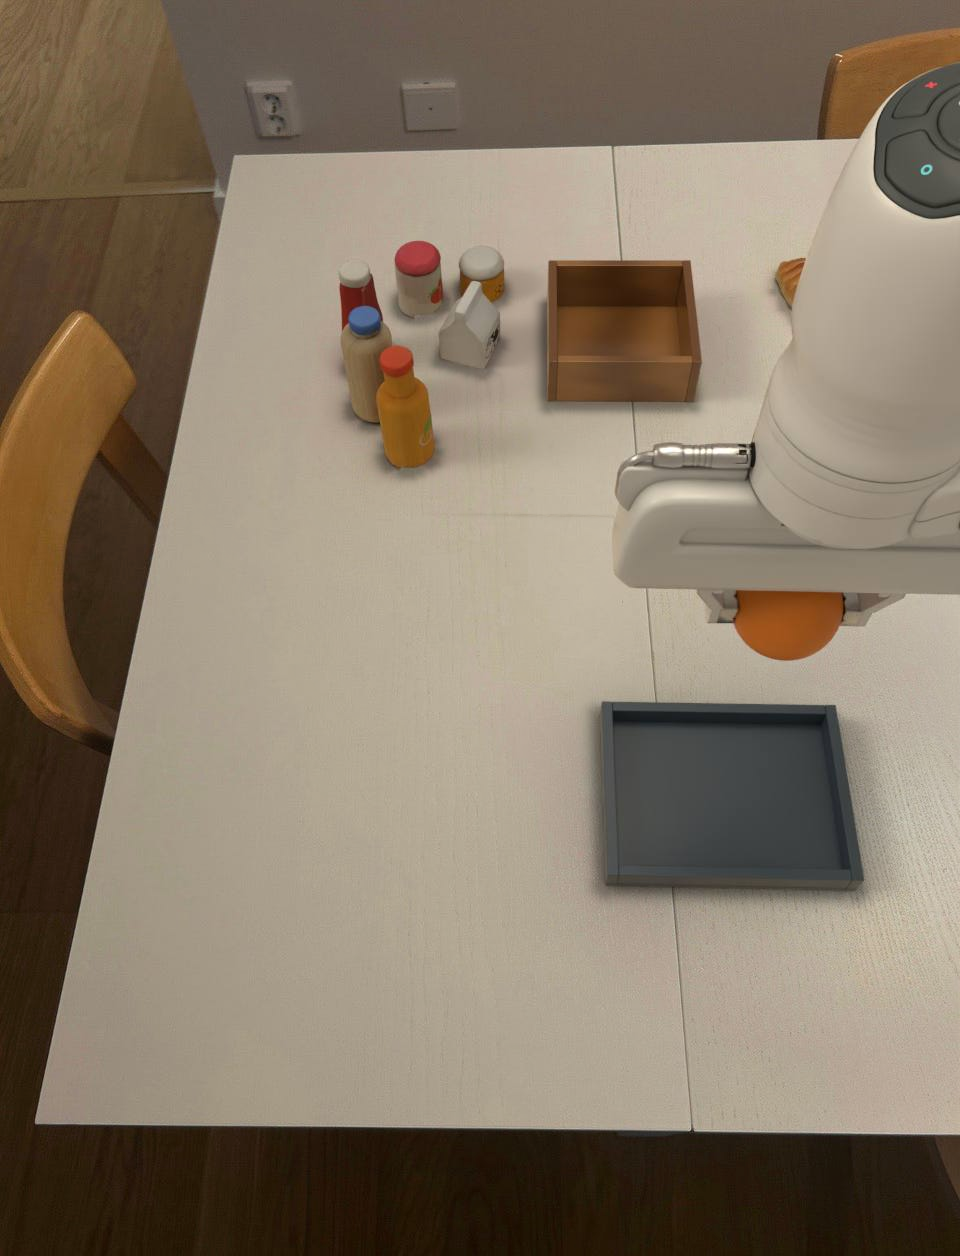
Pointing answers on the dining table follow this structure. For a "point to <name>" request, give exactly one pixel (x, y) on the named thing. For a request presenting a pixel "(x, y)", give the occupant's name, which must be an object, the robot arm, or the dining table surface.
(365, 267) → the toy food
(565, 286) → the wooden box
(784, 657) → the orange
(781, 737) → the tray
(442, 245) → the dining table surface
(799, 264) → the pastry
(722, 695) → the dining table surface
